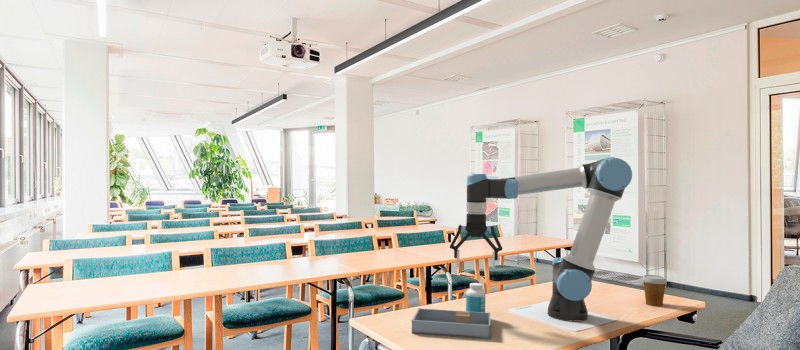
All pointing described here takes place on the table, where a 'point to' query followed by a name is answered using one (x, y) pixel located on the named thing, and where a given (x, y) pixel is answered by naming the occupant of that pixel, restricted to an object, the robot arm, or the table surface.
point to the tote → (450, 323)
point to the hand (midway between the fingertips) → (475, 267)
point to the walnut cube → (463, 317)
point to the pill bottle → (475, 298)
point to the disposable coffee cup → (654, 289)
